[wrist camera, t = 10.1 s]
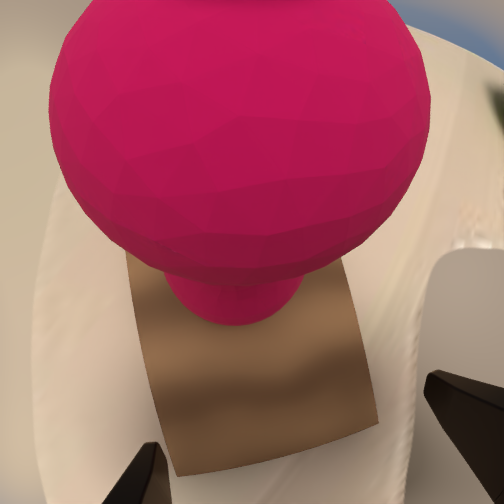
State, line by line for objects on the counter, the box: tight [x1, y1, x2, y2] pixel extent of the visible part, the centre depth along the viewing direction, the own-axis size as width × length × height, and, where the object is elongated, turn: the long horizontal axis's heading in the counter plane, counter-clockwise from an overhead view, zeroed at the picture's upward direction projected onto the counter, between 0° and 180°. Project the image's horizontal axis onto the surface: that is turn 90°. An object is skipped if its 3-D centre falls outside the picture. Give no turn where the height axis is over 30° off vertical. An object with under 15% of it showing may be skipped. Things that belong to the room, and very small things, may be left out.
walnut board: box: [125, 250, 379, 477], centre depth 21 cm, size 22×14×2 cm, turn 13°
